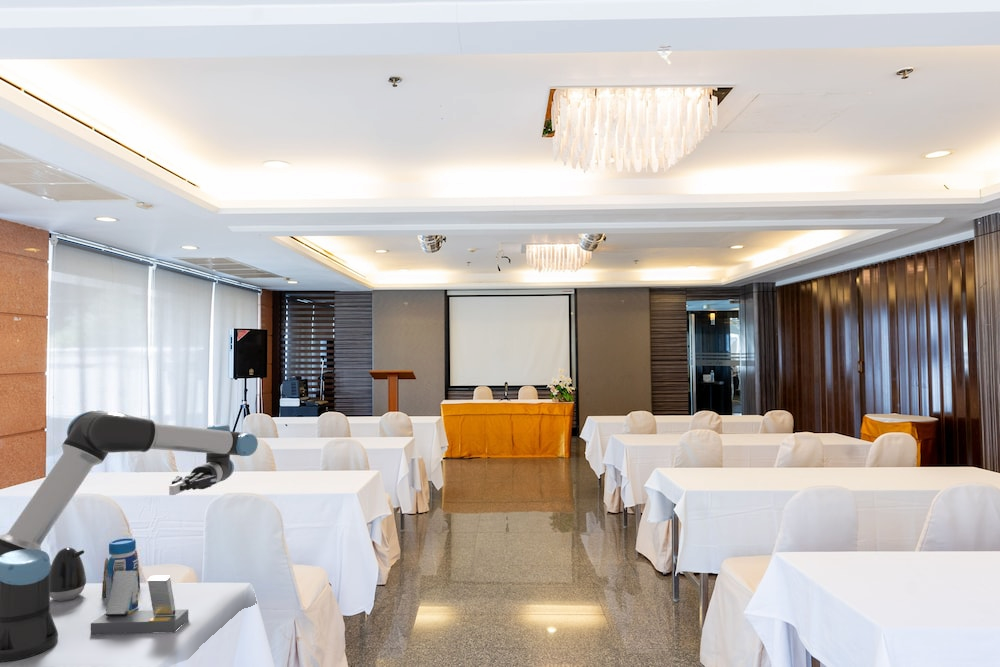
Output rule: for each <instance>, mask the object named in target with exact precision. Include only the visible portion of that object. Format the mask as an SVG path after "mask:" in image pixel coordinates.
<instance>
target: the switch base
mask: <svg viewBox="0 0 1000 667" xmlns="http://www.w3.org/2000/svg"><path fill="white" fill-rule="evenodd" d="M187 620H188V621H189V609H187V608H186V609H175V615H163V616H154V614H153V609H152V610H149V609H148V610H147V609H146V610H134V611H133V610H129V611H128V614H127V616H106V612H105V613H104V614H102V615H100V616H99V617H98V618H96V619H95V620H93V621H92V622H90V635H91V636H93V635H92V634H100V635H129V634H130V635H131V634H132V635H134V634H135V633H139V634H154V633H153V632H175V631H176V630H177V629H178V628H179V627H180V626H181V625H183V624H184V623H185V622H186V621H187ZM188 621H187V622H188ZM187 622H186V623H187ZM186 623H185V624H186ZM185 624H184V625H185ZM184 625H183V626H184ZM180 628H181V627H180ZM180 628H179V629H180ZM179 629H178V630H179ZM178 630H177V631H178ZM177 631H176V632H177ZM176 632H175V633H176Z"/></svg>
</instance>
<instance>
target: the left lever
mask: <svg viewBox="0 0 1000 667" xmlns="http://www.w3.org/2000/svg"><path fill="white" fill-rule="evenodd" d="M136 574H137V571H116V572H115V576H114V580H113V585H112V589H111V593H110V598H109V602H108V607H107V611H106V610H105V613H106V616H127V614H128V611H129V606H130V602H131V597H132V592H133V588H134V583H135V578H136Z"/></svg>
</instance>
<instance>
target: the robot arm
mask: <svg viewBox="0 0 1000 667" xmlns="http://www.w3.org/2000/svg"><path fill="white" fill-rule="evenodd" d="M230 429H231V428H230V425H229V424H211V425H208V426H207V427H206V428H202V427H192V426H183V425H173V424H166V423H165V424H162V423H156V422H155V421H154V420H153V419H150V418H149V419H148V418H142V417H138V416H137V417H136V416H133V415H128V414H124V413H122V412H114V411H104V410H98V409H97V410H90V411H89V410H88V411H85V412H82V413H80V414H78V415H77V416H75V417H74V418H73V419H72V420H71V421H70V423H69V424H68V427H67V429H66V435H67V436H66V438H65V439H64V441H63V443H62V444H61V448H62V454H61V455H60V457H59V458H58V460H57V462H56V463H55V464H54V466H53V467H52V468H51V470H50V472H49V473H48V474H47V476H46V478H45V479H44V480H43V482H42V483H41V485H40V486H39V488H38V489H37V490H36V491H35V493H34V495H33V496H32V497H31V498H30V500H29V501H28V503H27V505H26V506H25V507H24V509H22V511H21V513H20V515H18V517H17V519H16V521H14V523H13V525H12V526H11V527H10V528H9V530H8V532H6V533H4V534H1V535H0V662H9V661H10V662H11V661H16V660H20V659H25V658H28V657H32V656H35V655H38V654H41V653H43V652H45V651H47V650H50V649H51V648H52V647H54V646H55V645H56V644H58V643H57V642H58V639H59V635H58V634H59V633H58V629H57V627H56V624H55V622H54V619H53V617H52V614H51V608H50V606H51V603H50V602H51V597H50V570H51V565H52V564H51V559H50V554H48V553H47V552H46V551H44V550H42V548H41V545H42V544H43V542H44V541H45V539H46V538H47V536H48V535H49V533H50V531H51V530H52V528H53V527H54V525H55V524H56V522H57V521H58V520H59V518H60V516H61V515H62V513H63V512H64V511H65V509H66V508H67V506H68V505H69V503H70V501H71V500H72V498H73V497H74V496H75V494H76V492H77V491H78V489H79V488H80V486H81V485H82V484H83V482H84V481H85V479H86V477H87V476H88V474H90V472H91V470H92V468H93V467H94V466H96V465H100V464H102V463H103V462H104V460H105V458H107V456H108V455H109V454H110V453H127V452H128V453H129V452H131V453H132V452H134V453H135V452H138V453H139V452H142V453H146V452H149V451H150V450H160V451H161V450H162V451H177V452H188V453H189V452H190V453H203V454H204V453H205V461H206V462H205V463H204V464H201V465H199V466H197V467H194V468H193V470H192V471H191V472H190V474H188V475H186V476H185V477H183V476H179V475H176V476H175V478H174V479H173V480H171V485H169V486H168V489H169V490H168V491H169V492H168V493H169V494H168V495H169V496H176V495H178V494H180V493H183V492H184V491H190V490H205V489H208V488H211V487H212V486H214V485H217V484H218V483H220V482H223V481H225V480H228V478H229V477H230V476H232V474H233V473H234V470H235V464H234V462H233V461H232V459H231V456H239V457H249V456H251V455H253V454H255V453H256V451H257V449H258V445H259V444H258V443H259V442H258V439H257V437H256V436H255V434H252V433H249V432H238V431H231V430H230Z"/></svg>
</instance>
